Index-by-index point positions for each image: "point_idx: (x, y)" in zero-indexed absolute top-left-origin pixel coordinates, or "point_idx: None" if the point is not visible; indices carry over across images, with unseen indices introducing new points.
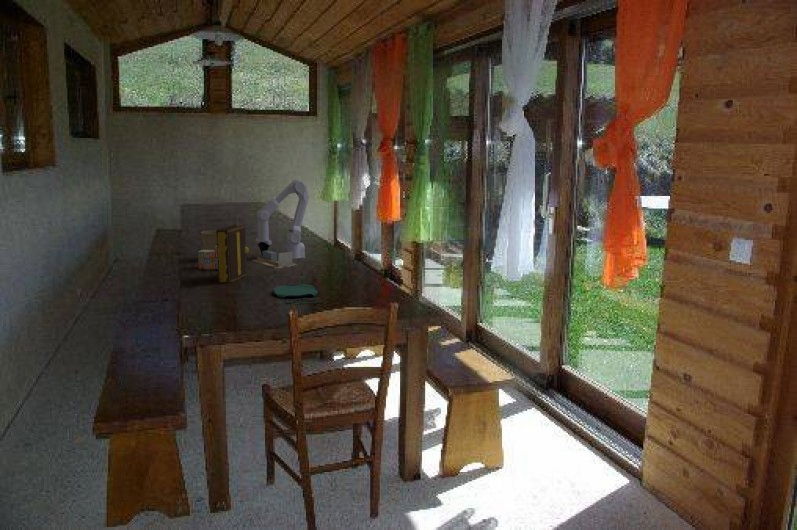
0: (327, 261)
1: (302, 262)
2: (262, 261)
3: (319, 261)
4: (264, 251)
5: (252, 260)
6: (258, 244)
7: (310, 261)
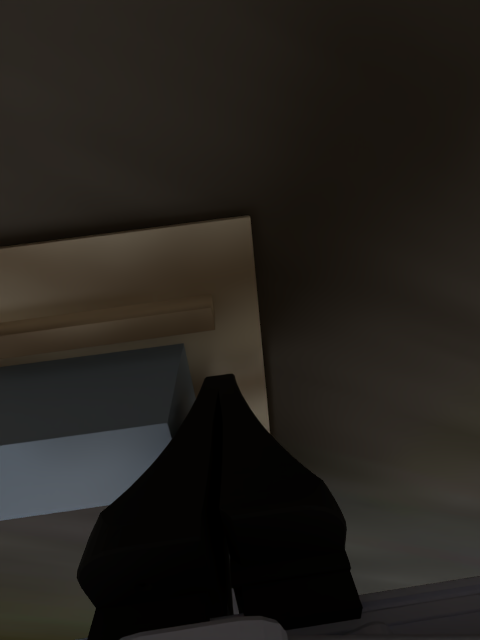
0: (15, 635)
1: (15, 552)
2: (79, 310)
3: (27, 613)
4: (98, 435)
5: (203, 222)
6: (263, 500)
7: (42, 586)
